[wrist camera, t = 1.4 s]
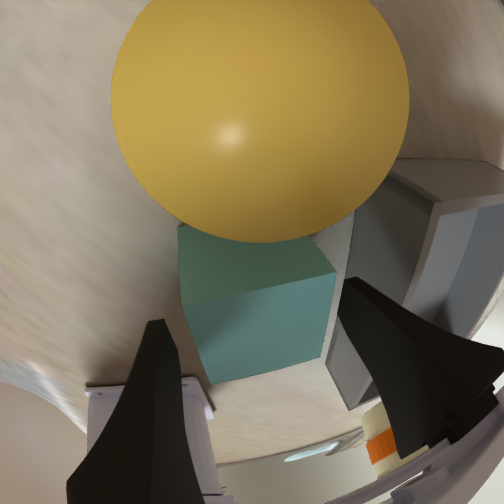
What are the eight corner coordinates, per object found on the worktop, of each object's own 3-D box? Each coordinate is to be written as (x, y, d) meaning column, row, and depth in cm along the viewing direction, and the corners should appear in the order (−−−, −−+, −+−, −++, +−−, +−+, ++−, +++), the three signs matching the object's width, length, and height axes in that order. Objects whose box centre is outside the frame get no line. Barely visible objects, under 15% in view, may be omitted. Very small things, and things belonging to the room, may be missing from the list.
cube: (197, 306, 15) (210, 384, 11) (177, 226, 12) (181, 305, 8) (285, 287, 16) (320, 356, 12) (285, 207, 13) (336, 271, 9)
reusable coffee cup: (392, 410, 44) (421, 465, 32) (341, 432, 41) (370, 495, 29) (422, 378, 37) (461, 441, 25) (368, 403, 34) (407, 480, 22)
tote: (431, 319, 24) (457, 351, 20) (325, 363, 22) (348, 411, 18) (486, 161, 14) (534, 189, 10) (360, 159, 12) (433, 202, 8)
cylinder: (164, 162, 10) (149, 267, 5) (149, 43, 7) (102, -26, 2) (285, 145, 11) (395, 220, 5) (279, 32, 8) (403, -10, 3)
